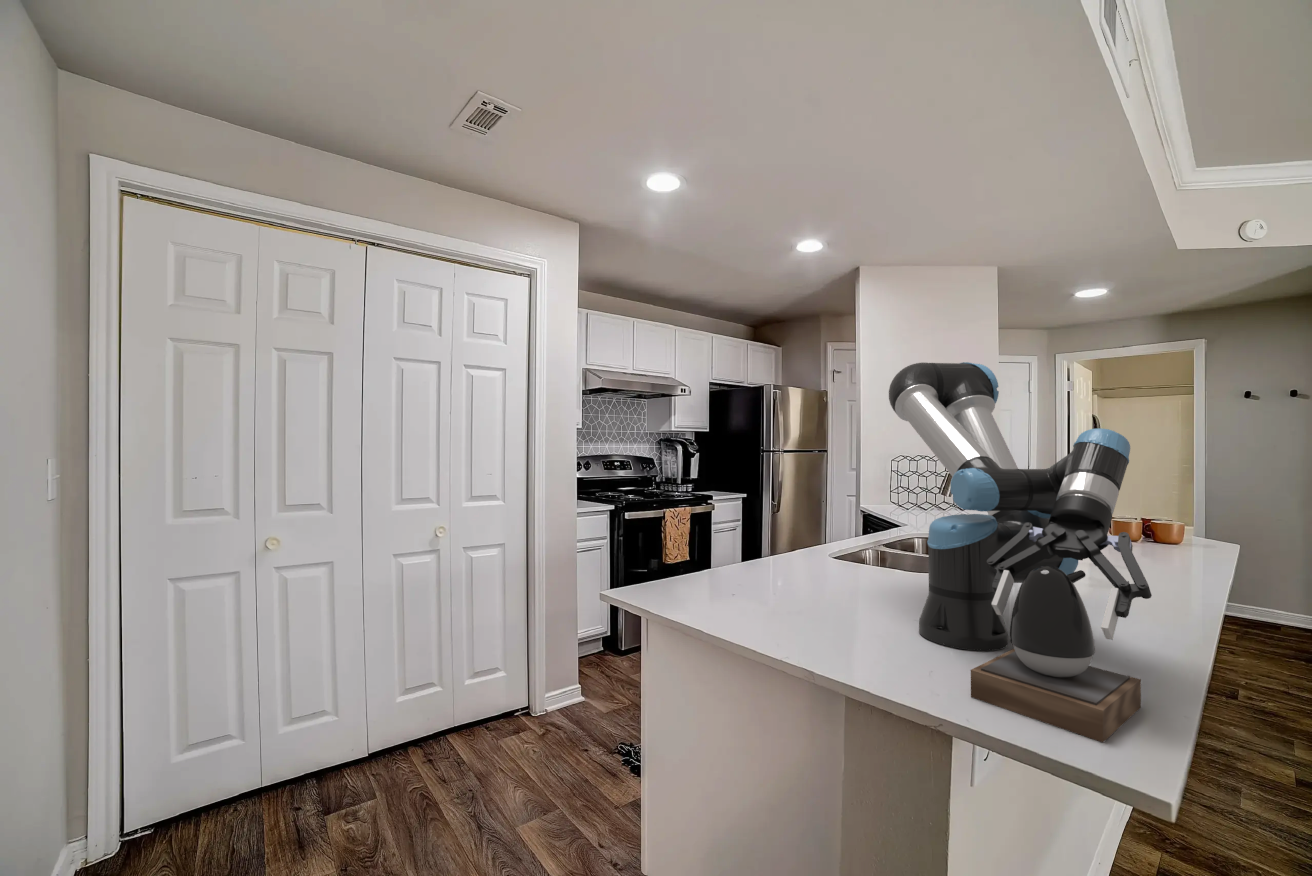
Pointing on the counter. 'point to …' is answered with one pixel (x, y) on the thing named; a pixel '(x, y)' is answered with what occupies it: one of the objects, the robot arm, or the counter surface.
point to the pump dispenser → (1052, 623)
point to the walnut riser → (1059, 695)
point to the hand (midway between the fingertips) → (1048, 621)
